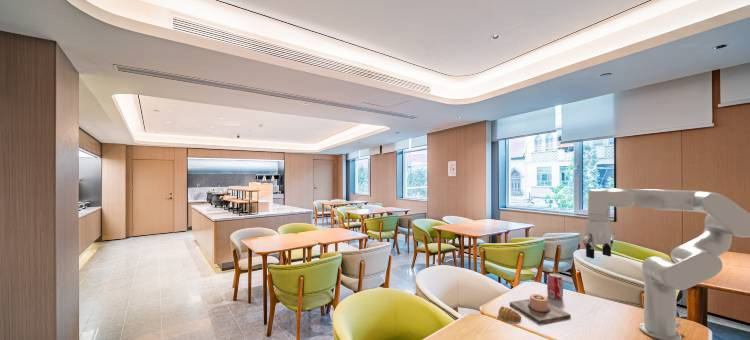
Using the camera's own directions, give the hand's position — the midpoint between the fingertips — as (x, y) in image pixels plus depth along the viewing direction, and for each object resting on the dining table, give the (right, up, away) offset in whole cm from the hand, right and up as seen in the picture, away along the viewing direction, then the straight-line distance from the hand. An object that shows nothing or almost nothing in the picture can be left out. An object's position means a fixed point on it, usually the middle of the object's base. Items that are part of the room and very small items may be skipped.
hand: (598, 256), depth 126 cm
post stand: (-19, -30, +13) cm, 38 cm away
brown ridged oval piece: (-36, -31, +8) cm, 48 cm away
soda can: (-2, -30, +27) cm, 40 cm away
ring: (-19, -29, +13) cm, 37 cm away
